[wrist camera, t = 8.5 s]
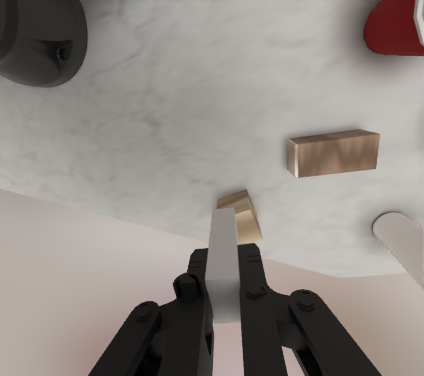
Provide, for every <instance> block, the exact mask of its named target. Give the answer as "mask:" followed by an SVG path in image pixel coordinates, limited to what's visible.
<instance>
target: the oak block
mask: <svg viewBox="0 0 424 376" xmlns="http://www.w3.org/2000/svg"><path fill="white" fill-rule="evenodd" d="M233 207H234V211H235V218H236V225H237V232H238V240H239V245H240V244H249V243H252V242H255V241H258V240H261V239H263V238H262V234H261V230H260V226H259V222H258V218H257V214H256V212H255V209H254V207H253V204H252V202H251V200H250V197H249V195H248V192H247V190H244V191H241V192H239V193H236V194H233V195H231V196H228V197H225V198H222V199H220V200H218V204H217V209H224V208H233Z"/></svg>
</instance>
